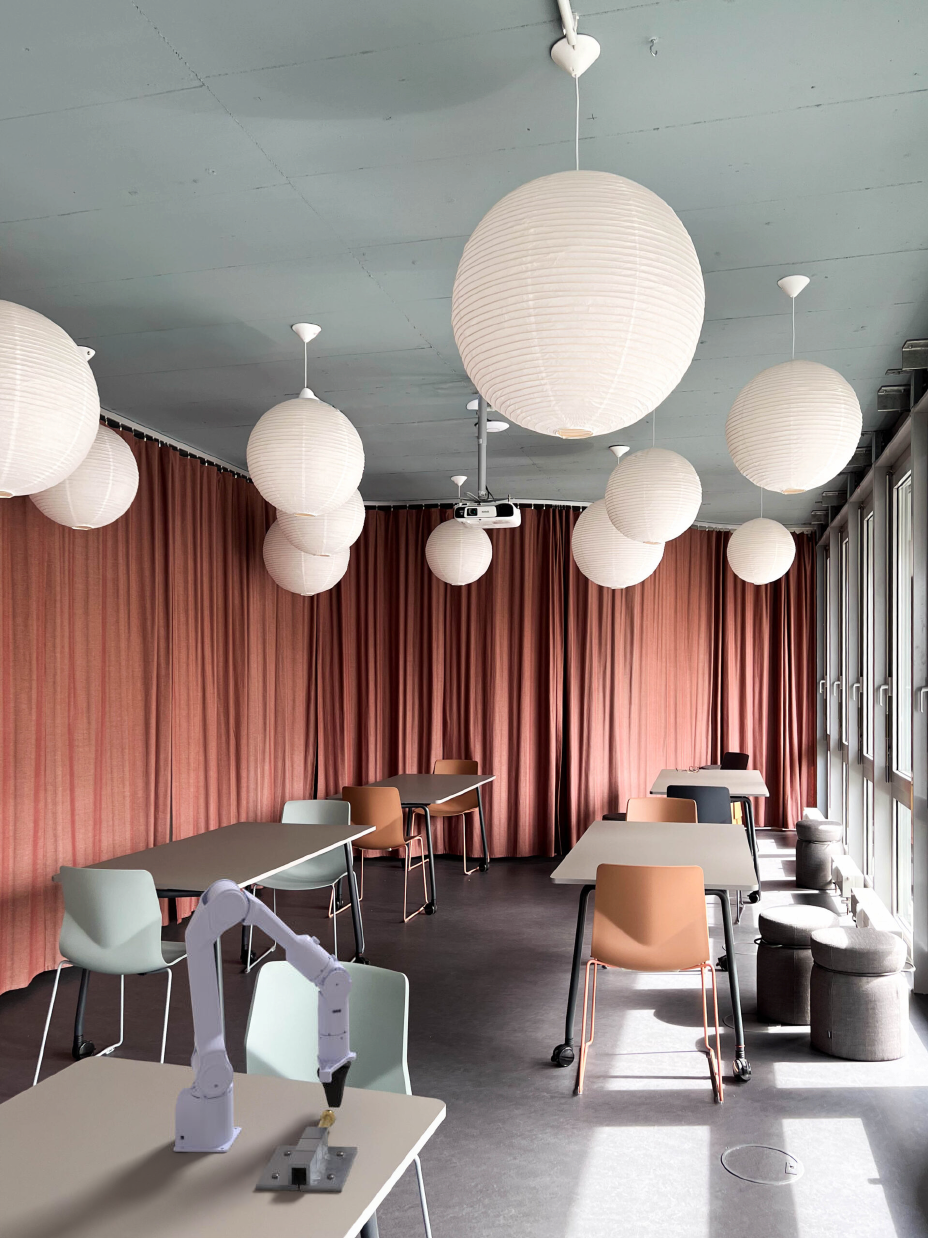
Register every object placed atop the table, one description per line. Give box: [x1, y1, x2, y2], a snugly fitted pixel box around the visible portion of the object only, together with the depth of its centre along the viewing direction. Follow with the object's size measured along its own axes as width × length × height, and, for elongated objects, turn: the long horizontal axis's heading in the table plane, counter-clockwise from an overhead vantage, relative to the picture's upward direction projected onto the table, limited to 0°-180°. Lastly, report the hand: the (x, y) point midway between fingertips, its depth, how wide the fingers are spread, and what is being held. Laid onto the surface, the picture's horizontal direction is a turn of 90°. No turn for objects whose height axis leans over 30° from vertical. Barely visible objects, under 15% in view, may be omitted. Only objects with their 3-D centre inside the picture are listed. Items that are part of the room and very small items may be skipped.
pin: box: [317, 1109, 336, 1129], centre depth 157 cm, size 3×14×3 cm, turn 175°
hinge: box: [256, 1126, 358, 1192], centre depth 150 cm, size 14×12×4 cm
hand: (334, 1106), depth 169 cm, fingers closed
